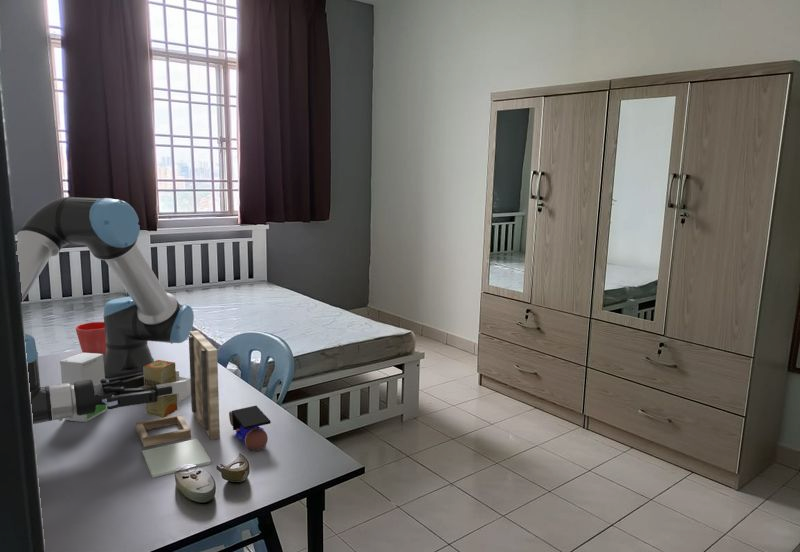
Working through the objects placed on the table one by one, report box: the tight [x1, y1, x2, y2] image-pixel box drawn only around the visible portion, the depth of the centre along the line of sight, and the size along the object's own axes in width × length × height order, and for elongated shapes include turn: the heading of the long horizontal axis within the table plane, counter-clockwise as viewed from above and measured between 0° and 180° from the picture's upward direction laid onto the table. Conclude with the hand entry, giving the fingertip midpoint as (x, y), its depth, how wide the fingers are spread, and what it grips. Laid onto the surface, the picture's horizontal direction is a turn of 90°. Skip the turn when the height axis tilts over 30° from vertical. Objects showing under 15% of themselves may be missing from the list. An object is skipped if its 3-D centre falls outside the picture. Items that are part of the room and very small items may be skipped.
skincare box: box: [59, 352, 108, 423], centre depth 147 cm, size 8×7×16 cm
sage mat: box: [142, 438, 212, 479], centre depth 128 cm, size 12×12×1 cm
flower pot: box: [75, 321, 106, 356], centre depth 195 cm, size 11×11×10 cm
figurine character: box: [228, 405, 272, 451], centre depth 137 cm, size 7×8×15 cm
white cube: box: [177, 376, 191, 402], centre depth 161 cm, size 5×5×5 cm
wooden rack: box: [135, 330, 221, 448], centre depth 139 cm, size 18×16×22 cm
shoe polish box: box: [143, 359, 178, 418], centre depth 138 cm, size 5×5×12 cm
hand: (182, 380), depth 140 cm, fingers closed on shoe polish box, 7 cm apart
